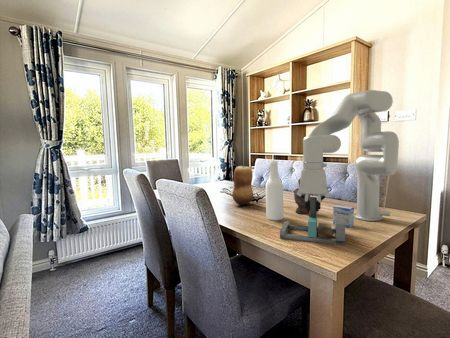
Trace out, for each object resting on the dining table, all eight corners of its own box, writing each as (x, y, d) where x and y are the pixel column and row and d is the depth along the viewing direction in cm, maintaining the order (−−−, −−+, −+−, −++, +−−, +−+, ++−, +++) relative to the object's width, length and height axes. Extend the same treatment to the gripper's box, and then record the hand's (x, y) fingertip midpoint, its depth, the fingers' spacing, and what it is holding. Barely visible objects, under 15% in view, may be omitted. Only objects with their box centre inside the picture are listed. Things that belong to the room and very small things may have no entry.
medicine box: (332, 224, 116) (332, 206, 116) (336, 222, 119) (336, 204, 119) (350, 228, 111) (350, 209, 110) (353, 225, 114) (354, 207, 113)
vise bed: (342, 232, 105) (342, 214, 105) (344, 245, 92) (345, 224, 92) (284, 227, 114) (284, 210, 114) (279, 238, 101) (279, 219, 101)
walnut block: (331, 235, 103) (331, 223, 102) (331, 239, 98) (331, 227, 98) (318, 234, 105) (318, 222, 104) (318, 238, 100) (318, 226, 100)
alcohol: (272, 221, 123) (271, 161, 120) (263, 217, 131) (261, 160, 129) (287, 219, 126) (286, 160, 124) (277, 214, 135) (276, 159, 132)
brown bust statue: (314, 216, 130) (314, 178, 128) (297, 216, 130) (297, 179, 129) (307, 210, 142) (307, 175, 140) (292, 210, 142) (292, 176, 140)
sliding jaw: (317, 226, 109) (317, 194, 108) (316, 237, 96) (316, 201, 95) (310, 225, 110) (309, 194, 109) (308, 236, 97) (308, 201, 96)
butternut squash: (252, 207, 152) (251, 167, 150) (231, 207, 155) (229, 167, 152) (254, 202, 166) (253, 165, 164) (234, 202, 168) (233, 165, 166)
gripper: (334, 165, 101) (334, 209, 103) (293, 165, 107) (293, 207, 109) (335, 167, 94) (335, 214, 96) (291, 167, 100) (291, 211, 102)
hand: (312, 210), depth 102 cm, fingers closed on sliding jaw, 3 cm apart
